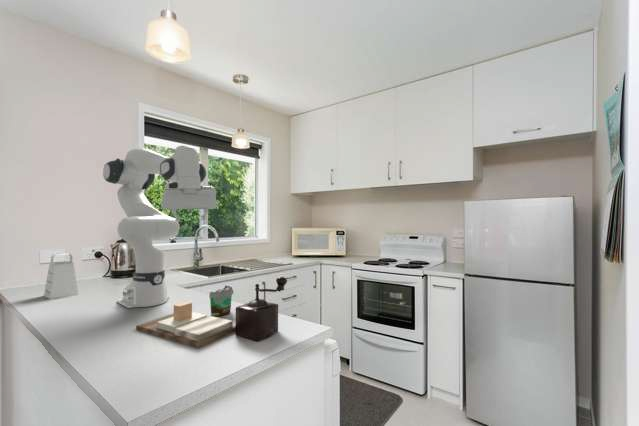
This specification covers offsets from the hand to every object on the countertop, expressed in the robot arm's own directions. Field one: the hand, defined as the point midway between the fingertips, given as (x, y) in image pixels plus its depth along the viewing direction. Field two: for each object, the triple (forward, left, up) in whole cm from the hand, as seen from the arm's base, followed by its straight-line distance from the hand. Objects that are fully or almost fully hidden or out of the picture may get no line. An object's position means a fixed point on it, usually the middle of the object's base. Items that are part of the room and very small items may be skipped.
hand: (190, 220), depth 119 cm
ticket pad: (+12, -11, -37) cm, 41 cm away
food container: (+11, +8, -38) cm, 40 cm away
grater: (-80, -10, -38) cm, 89 cm away
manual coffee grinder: (+35, +1, -38) cm, 52 cm away
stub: (+10, -11, -36) cm, 39 cm away
